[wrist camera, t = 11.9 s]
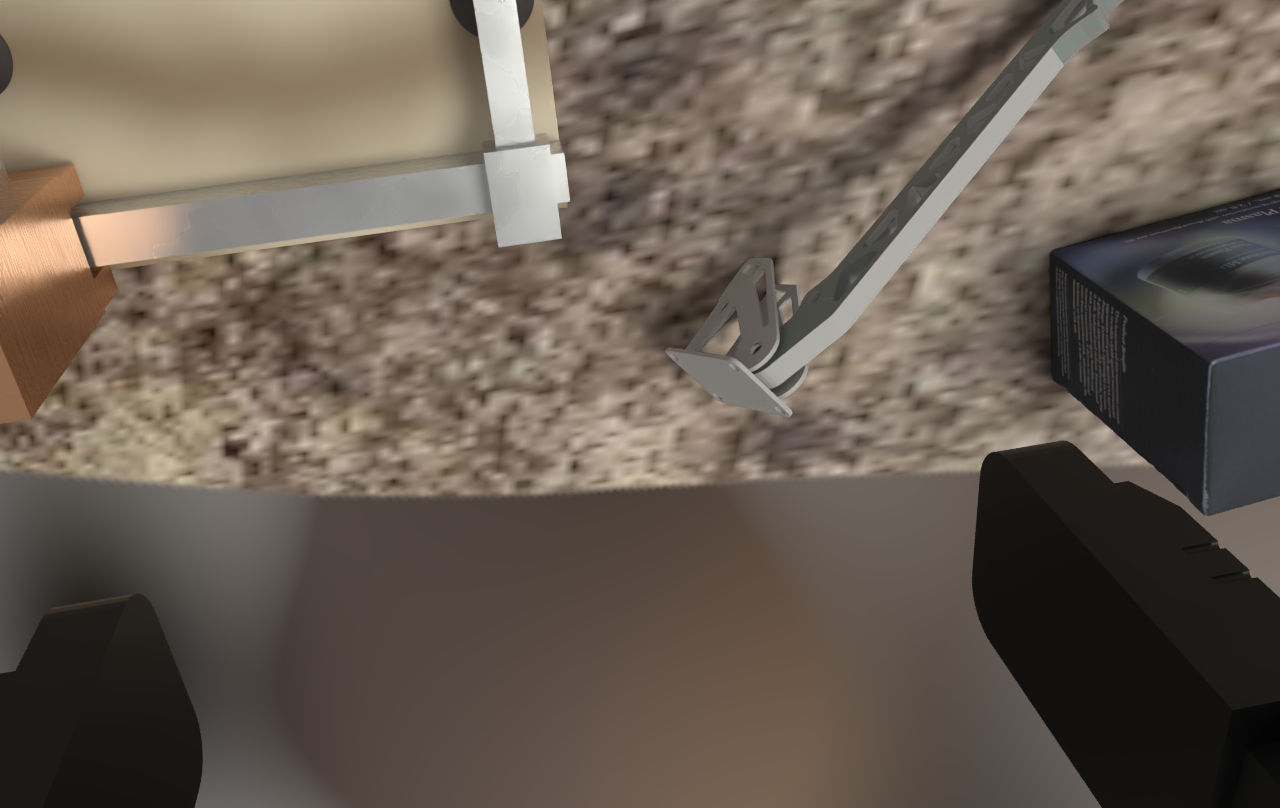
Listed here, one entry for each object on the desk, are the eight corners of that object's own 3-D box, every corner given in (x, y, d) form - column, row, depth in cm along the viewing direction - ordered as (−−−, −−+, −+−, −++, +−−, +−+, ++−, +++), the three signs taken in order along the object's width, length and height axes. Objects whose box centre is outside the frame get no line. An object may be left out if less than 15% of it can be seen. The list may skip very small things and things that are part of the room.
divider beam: (-159, 37, 31) (-215, 56, 28) (536, -42, 33) (544, -31, 30) (-48, 292, 34) (-88, 330, 32) (567, 206, 36) (577, 236, 34)
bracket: (659, 349, 39) (832, 377, 30) (961, -73, 43) (1190, -157, 34) (716, 401, 40) (897, 442, 31) (1002, -12, 44) (1234, -78, 35)
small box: (1301, 171, 42) (1540, 267, 33) (1287, 318, 45) (1502, 442, 36) (1044, 242, 41) (1215, 359, 32) (1049, 385, 45) (1205, 528, 36)
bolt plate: (-204, -124, 30) (-230, -122, 28) (514, -195, 32) (517, -196, 30) (-34, 278, 35) (-49, 293, 34) (564, 196, 37) (567, 208, 36)
